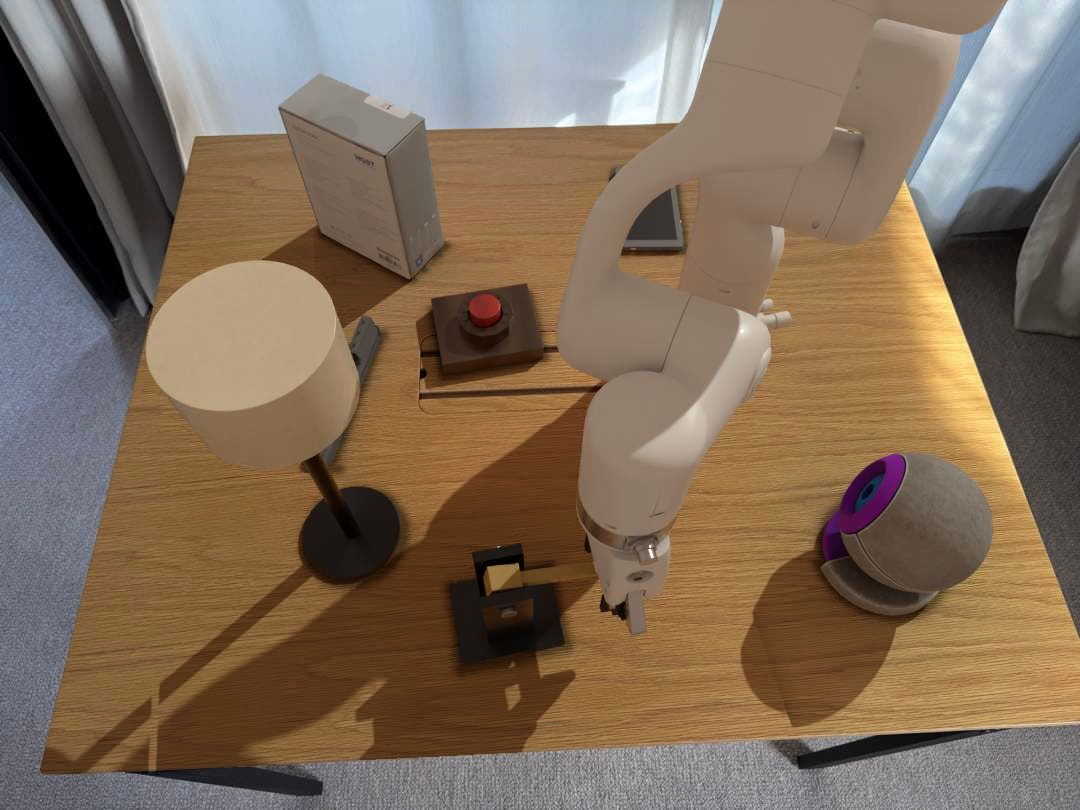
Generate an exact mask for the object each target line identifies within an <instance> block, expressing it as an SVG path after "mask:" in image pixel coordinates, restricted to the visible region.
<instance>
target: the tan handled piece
mask: <svg viewBox="0 0 1080 810" xmlns="http://www.w3.org/2000/svg"><path fill="white" fill-rule="evenodd" d="M596 577H598V573H597V570H596V566H595V563H594V561H589V562H581V563H573V564H566V565H559V566H551V567H550V566H549V567H548V568H542V569H534V570H527V571H520V569H519V564H518V563H513V564H505V565H497V566H489V567H487V569H486V571H485V573H484V576H483V579H484V584H485V590H486V596H488V595H493V594H498V593H503V592H508V591H513V590H518V589H522V587H523V586H530V585H538V584H545V583H552V584H553V583H558V582H559V583H560V582H566V581H572V580H580V579H581V580H582V579H589V578H596Z"/></svg>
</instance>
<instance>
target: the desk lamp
mask: <svg viewBox="0 0 1080 810" xmlns="http://www.w3.org/2000/svg"><path fill="white" fill-rule="evenodd" d="M145 341H146V342H145V360H146V366H147V368H148V371H149V374H150V376H151V378H152V379H153V381H154V382H155V384H156V385H157V387H158V388H159V389H160V390H161V392H162V393H163V394H164V396H165V397H166V398H167V400H168V401H169V402H170V403H171V405H172V406H173V407H174V408H175V410H176V411H177V412H178V413H179V414H180V416H181V417H182V418H183V420H184V421H185V422H186V423H187V425H188V426H189V427H190V429H191V430H192V431H193V432H194V433H195V435H196V436H197V437H198V439H199V440H200V441H201V443H202V444H203V445H204V446H205V447H206V448H207V449H208V450H209V451H210V452H211V453H212V454H213V455H215V457H217V458H219V459H220V460H222V461H224V462H226V463H228V464H230V465H232V466H233V465H234V466H235V467H239V468H244V469H250V470H276V469H282V468H287V467H291V466H293V465H297V464H299V463H302V464H303V465H304V467H305V469H306V470H307V472H308V474H309V476H310V478H311V479H312V481H313V482H314V484H315V486H316V488H317V490H318V491H319V493H320V495H321V496H322V499H321V500H319V501H318V503H317V504H315V506H314V507H313V508H312V509H311V511H310V512H309V514H308V516H307V518H306V520H305V522H304V526H303V530H302V545H303V550H304V552H305V555H306V557H307V559H308V561H309V562H310V563H311V564H312V566H313V567H314V568H315V569H316V570H318V571H319V572H320V573H322V574H323V575H325V576H327V577H328V578H332V579H336V580H341V581H352V580H358V579H362V578H365V577H368V576H371V575H372V574H375V573H376V572H377V571H379V570H380V569H382V568H383V567H384V566H385V565H386V564H388V562H389V561H390V560H391V559H392V557H393V556H394V554H395V553H396V551H397V549H398V547H399V545H400V542H401V538H402V530H403V529H402V520H401V516H400V513H399V511H398V509H397V507H396V505H395V504H394V502H393V501H392V500H391V499H390V498H389V497H388V496H387V495H386V494H384V493H383V492H382V491H379V490H377V489H374V488H372V487H367V486H348V487H343V488H339V486H338V484H337V482H336V479H334V476H333V474H332V473H331V471H330V469H329V466H328V467H327V465H326V463H325V461H324V459H323V457H322V455H321V453H320V452H321V451H323V450H324V449H325V448H327V447H328V446H329V445H330V444H332V443H333V442H334V441H335V440H336V439H337V438H338V437H339V436H340V435H341V434H342V432H343V431H344V432H345V430H346V429H347V427H348V426H349V424H350V423H351V421H352V419H353V417H354V415H355V413H356V410H357V409H358V408H357V407H358V404H359V400H360V394H361V388H360V380H359V375H358V371H357V369H356V366H355V363H354V360H353V357H352V355H351V352H350V349H349V344H348V341H347V339H346V336H345V332H344V330H343V327H342V324H341V322H340V319H339V316H338V313H337V310H336V308H335V305H334V302H333V299H332V297H331V295H330V294H329V292H328V291H327V289H326V288H325V287H324V285H323V284H322V283H321V282H320V281H319V280H318V279H316V277H314V276H313V275H311V274H310V273H308V272H306V271H305V270H303V269H300V268H299V267H297V266H295V265H291V264H288V263H284V262H279V261H276V260H275V261H273V260H244V261H237V262H232V263H228V264H225V265H221V266H217V267H214V268H213V269H209V270H208V271H205V272H204V273H202V274H200V275H197V276H196V277H194V278H192V279H191V280H189V281H187V282H185V284H184V285H182V286H180V287H179V288H178V289H177V290H176V291H174V293H173V294H171V295H170V296H169V297H168V298H167V299H166V301H165V302H164V303H163V304H162V305H161V306H160V308H159V309H158V311H157V313H156V314H155V316H154V317H153V320H152V322H151V323H150V326H149V329H148V332H147V336H146V339H145ZM344 432H343V433H344Z"/></svg>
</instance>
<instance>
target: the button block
mask: <svg viewBox="0 0 1080 810" xmlns="http://www.w3.org/2000/svg"><path fill="white" fill-rule="evenodd" d="M482 294H488V295H492V296H494V297H495V298H496V299H497V300H498V301H499V303H500V312H501V316H500V319H499V321H498V322H497V323H496V324H495V325H493V326H491V327H479V326H477V325H475V324H474V323H473V322H472V320H471V318H470V311H469V305H470V302H471V301H472V299H473V298H475V297H476V296H478V295H482ZM430 302H431V308H432V314H433V320H434V325H435V331H436V332H435V333H436V337H437V342H438V343H437V344H438V348H439V355H440V360H441V361H440V362H441V367H442V371H443V375H444V376H447V375H453V374H454V375H455V374H458V373H466V372H470V371H477V370H483V369H487V368H494V367H500V366H506V365H511V364H512V365H513V364H517V363H523V362H529V361H536V360H541V359H544V357H545V355H544V352H545V351H544V350H545V347H544V344H543V339H542V335H541V331H540V327H539V324H538V321H537V317H536V313H535V308H534V305H533V301H532V297H531V294H530V290H529V285H528V283H527V282H525V283H518V284H512V285H507V286H501V287H494V288H489V289H488V288H487V289H481V290H476V291H469V292H463V293H462V292H461V293H457V294H450V295H444V296H438V297H432V298H430Z"/></svg>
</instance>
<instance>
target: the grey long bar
mask: <svg viewBox="0 0 1080 810" xmlns="http://www.w3.org/2000/svg"><path fill="white" fill-rule="evenodd" d="M381 337H382V332H381V329H380V326H379V325H377V324H376V322H375V321H374V320H373V318H372V316H368V315H361V317H360V318H359V321H358V323H357V326H356V329H355V331H354V333H353V336H352V338H351V341H350V343H349V344H348V346H349V349H350V352H351V355H352V357H353V360H354V363H355V366H356V369H357V371H358V375H359V380H360V389H361V388H362V386H363V382H364V380H365V378H366V375H367V372H368V369H369V366H370V364H371V363H372V359H373V356H374V354H375V352H376V349H377V346H378V344H379V341H380V338H381ZM344 432H345V430H344V431H343V432H342V434H341V435H340V436H339V437H338V438H337V439H336V440H335V441H334V442H333V443H332V444H330V445H329V446H328V447H327V448H325V449H324V450H323V451H321V452H320V453H321V455H322V457H323V459H324V461H325V463H326V465H327V467H328V468H329V465H330V464H332V463H333V461H334V458H335V455H336V453H337V450H338V447H339V445H340V443H341V440H342V438H343V435H344Z"/></svg>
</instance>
